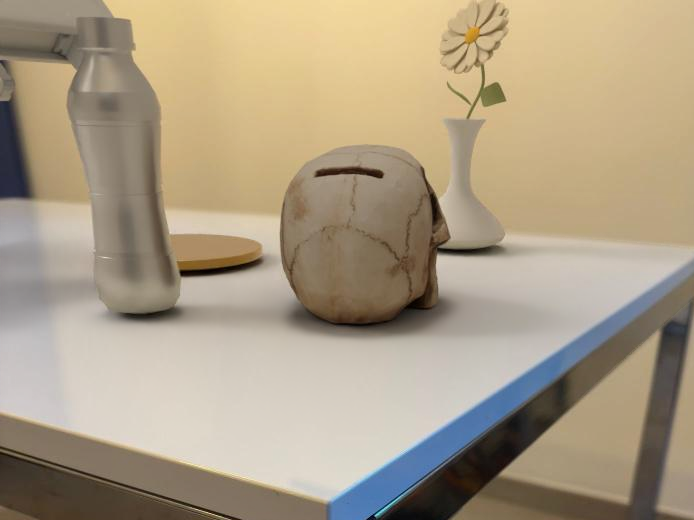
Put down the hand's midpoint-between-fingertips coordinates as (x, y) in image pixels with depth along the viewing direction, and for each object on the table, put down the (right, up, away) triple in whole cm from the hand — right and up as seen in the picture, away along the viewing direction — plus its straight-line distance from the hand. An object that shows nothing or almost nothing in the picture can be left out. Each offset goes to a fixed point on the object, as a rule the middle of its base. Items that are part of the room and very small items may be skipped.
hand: (58, 95), depth 57 cm
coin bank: (+22, -13, +10) cm, 27 cm away
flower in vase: (+33, +1, +36) cm, 49 cm away
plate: (+2, -3, +26) cm, 27 cm away
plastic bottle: (+4, -14, +6) cm, 16 cm away
